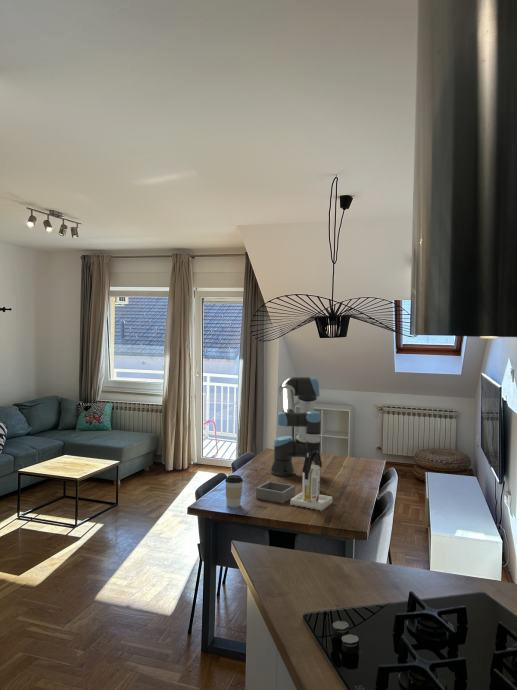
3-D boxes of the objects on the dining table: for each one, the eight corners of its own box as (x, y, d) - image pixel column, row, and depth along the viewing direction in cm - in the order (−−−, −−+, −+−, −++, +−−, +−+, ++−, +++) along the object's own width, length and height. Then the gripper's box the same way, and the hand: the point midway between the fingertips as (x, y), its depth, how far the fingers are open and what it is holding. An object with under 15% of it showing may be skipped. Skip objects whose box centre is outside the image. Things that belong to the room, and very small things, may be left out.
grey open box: (255, 497, 262) (256, 487, 262) (268, 490, 276) (269, 481, 276) (282, 503, 255) (283, 492, 255) (294, 495, 268) (294, 485, 268)
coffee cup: (225, 502, 254) (226, 473, 254) (242, 502, 254) (243, 473, 254) (223, 507, 245) (224, 478, 245) (241, 508, 245) (242, 478, 245)
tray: (290, 505, 252) (290, 499, 252) (302, 496, 266) (302, 491, 266) (321, 511, 244) (321, 505, 244) (332, 502, 258) (332, 496, 258)
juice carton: (320, 501, 256) (321, 465, 256) (314, 506, 248) (314, 468, 248) (307, 499, 259) (308, 463, 259) (300, 503, 252) (301, 466, 252)
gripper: (310, 446, 242) (309, 489, 242) (328, 438, 264) (327, 477, 264) (296, 444, 246) (295, 486, 246) (315, 437, 268) (314, 475, 268)
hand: (312, 482), depth 255 cm, fingers open, 13 cm apart
